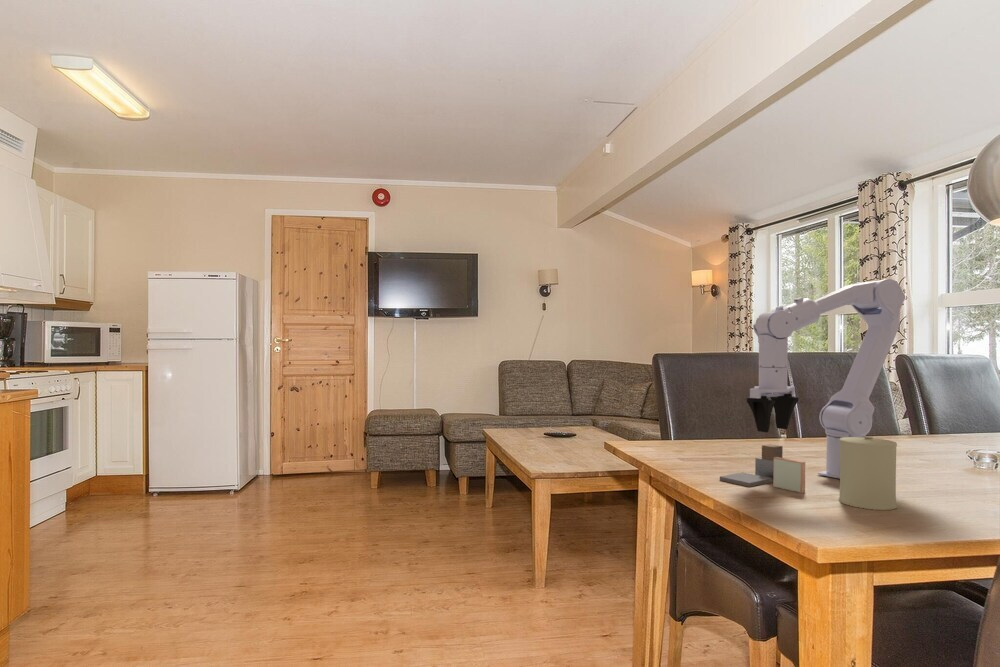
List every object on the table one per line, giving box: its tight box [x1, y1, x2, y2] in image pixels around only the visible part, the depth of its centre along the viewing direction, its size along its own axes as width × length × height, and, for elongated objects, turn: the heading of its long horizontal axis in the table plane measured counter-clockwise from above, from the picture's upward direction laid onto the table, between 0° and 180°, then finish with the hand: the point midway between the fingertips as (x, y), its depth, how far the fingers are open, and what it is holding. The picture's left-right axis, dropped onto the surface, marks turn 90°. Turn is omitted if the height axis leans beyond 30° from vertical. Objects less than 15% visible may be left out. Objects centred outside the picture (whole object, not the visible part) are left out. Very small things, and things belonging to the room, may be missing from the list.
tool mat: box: [719, 471, 773, 488], centre depth 132 cm, size 8×7×1 cm
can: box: [838, 436, 898, 511], centre depth 116 cm, size 9×9×12 cm
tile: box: [772, 457, 806, 494], centre depth 126 cm, size 1×6×6 cm, turn 35°
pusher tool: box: [754, 443, 784, 481], centre depth 136 cm, size 3×6×7 cm, turn 35°
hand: (772, 430), depth 136 cm, fingers open, 7 cm apart
